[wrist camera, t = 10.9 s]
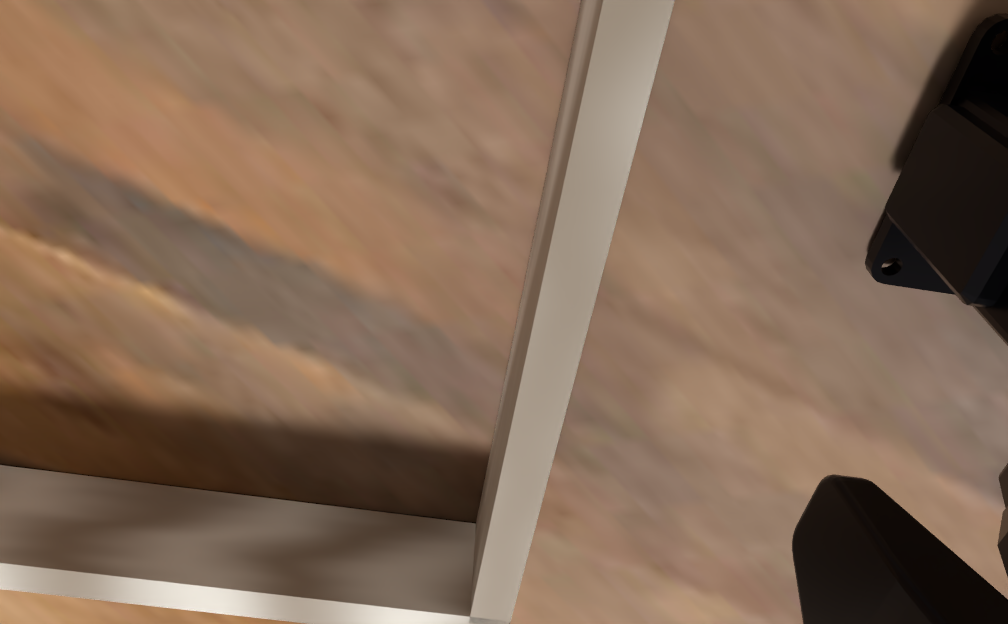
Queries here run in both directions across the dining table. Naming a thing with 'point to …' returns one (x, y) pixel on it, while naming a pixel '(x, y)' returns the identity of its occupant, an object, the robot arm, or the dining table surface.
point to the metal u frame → (363, 533)
